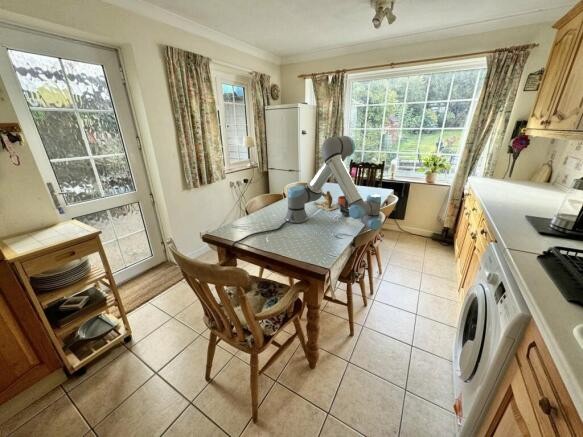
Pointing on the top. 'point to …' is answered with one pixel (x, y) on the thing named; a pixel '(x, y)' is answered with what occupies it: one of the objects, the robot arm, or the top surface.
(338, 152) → the robot arm
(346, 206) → the dish brush
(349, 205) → the bowl
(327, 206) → the wooden toy
